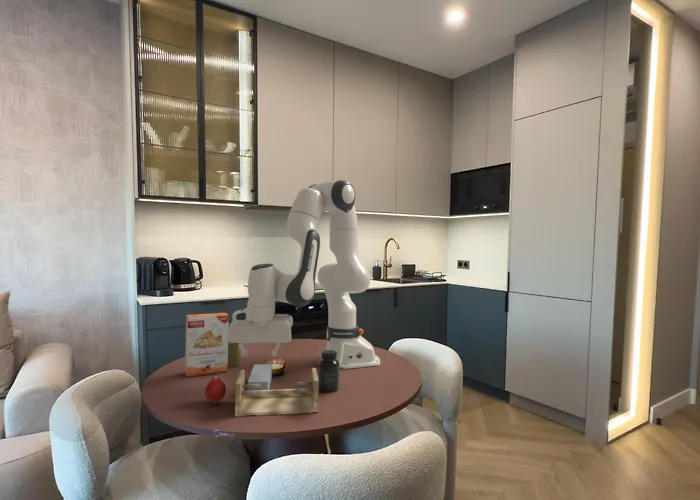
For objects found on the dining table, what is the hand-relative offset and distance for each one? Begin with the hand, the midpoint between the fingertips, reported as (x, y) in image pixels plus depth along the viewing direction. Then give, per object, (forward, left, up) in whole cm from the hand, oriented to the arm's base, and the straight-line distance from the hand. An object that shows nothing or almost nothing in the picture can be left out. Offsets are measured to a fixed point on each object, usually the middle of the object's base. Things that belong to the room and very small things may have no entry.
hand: (259, 356), depth 128 cm
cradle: (-6, +16, -10) cm, 20 cm away
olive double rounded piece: (+12, -24, -10) cm, 29 cm away
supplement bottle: (-22, +4, -10) cm, 25 cm away
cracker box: (+20, -16, -10) cm, 28 cm away
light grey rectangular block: (0, 0, -11) cm, 11 cm away
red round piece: (+12, +12, -10) cm, 19 cm away
